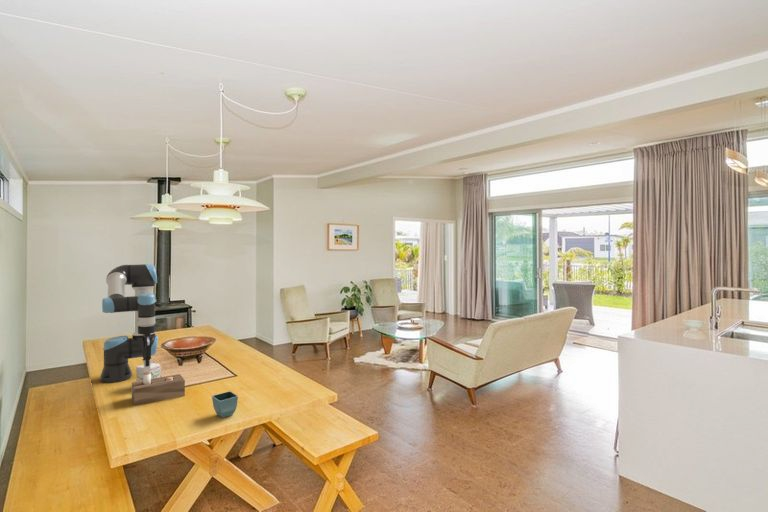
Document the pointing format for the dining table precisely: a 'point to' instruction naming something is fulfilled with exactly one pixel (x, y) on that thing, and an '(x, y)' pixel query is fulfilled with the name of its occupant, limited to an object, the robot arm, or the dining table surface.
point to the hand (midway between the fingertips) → (147, 372)
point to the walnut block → (158, 389)
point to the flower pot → (225, 403)
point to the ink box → (154, 370)
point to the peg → (146, 378)
